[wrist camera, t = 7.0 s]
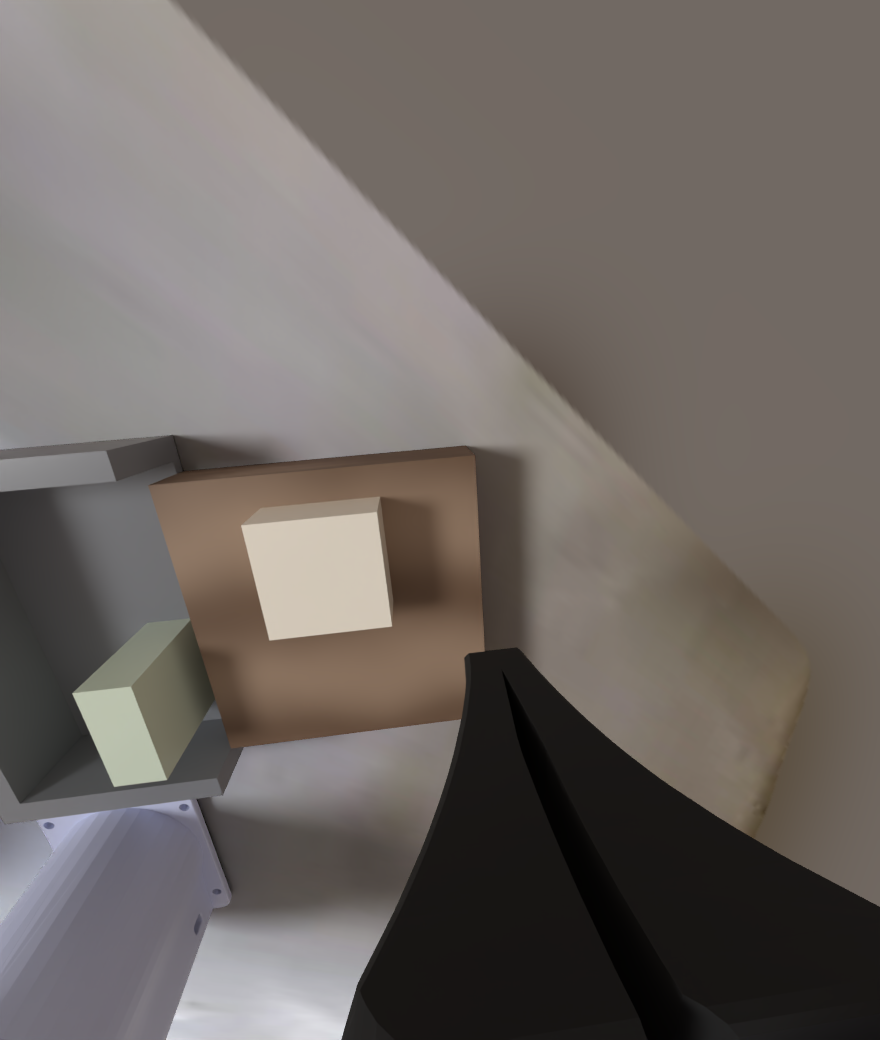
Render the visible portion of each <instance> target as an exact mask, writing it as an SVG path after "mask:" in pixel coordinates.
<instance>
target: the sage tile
mask: <svg viewBox="0 0 880 1040" xmlns="http://www.w3.org/2000/svg"><path fill="white" fill-rule="evenodd" d="M72 694H73V696H74V698H75V701H76V703H77V705H78V707H79V710H80V712H81V714H82V716H83V719H84V721H85V723H86V725H87V727H88V730H89V732H90V734H91V736H92V739H93V741H94V743H95V745H96V748H97V750H98V752H99V754H100V757H101V759H102V761H103V763H104V765H105V768H106V770H107V772H108V774H109V777H110V779H111V781H112V783H113V786H114V787H117V786H125V785H132V784H140V783H148V782H156V781H164V780H167V779H168V778H169V776H170V774H171V773H172V771H173V769H174V768H175V766H176V764H177V763H178V761H179V759H180V757H181V756H182V754H183V752H184V751H185V749H186V747H187V746H188V744H189V742H190V741H191V739H192V737H193V736H194V734H195V732H196V730H197V729H198V727H199V725H200V724H201V722H202V720H203V719H204V717H205V715H206V714H207V712H208V710H209V709H210V707H211V705H212V704H213V702H214V700H215V696H214V693H213V690H212V687H211V684H210V681H209V677H208V674H207V671H206V668H205V665H204V661H203V658H202V655H201V652H200V649H199V646H198V642H197V639H196V636H195V633H194V630H193V627H192V623H191V620H190V618H189V619H180V620H170V621H161V622H151V623H146V624H145V625H144V626H143V627H142V628H141V629H140V630H139V631H138V632H137V633H136V634H135V635H134V636H133V637H132V638H131V639H129V640H128V641H127V642H126V643H125V644H124V645H123V646H122V647H121V648H120V649H119V650H118V651H117V652H116V653H115V654H114V655H112V656H111V657H110V658H109V659H108V660H107V661H106V662H105V663H104V664H103V665H102V666H101V667H100V668H99V669H98V670H97V671H95V672H94V673H93V674H92V675H91V676H90V677H89V678H88V679H87V680H86V681H85V682H84V683H83V684H82V685H81V686H80V687H78V688H77V689H76V690H75V691H74V692H73V693H72Z"/></svg>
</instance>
